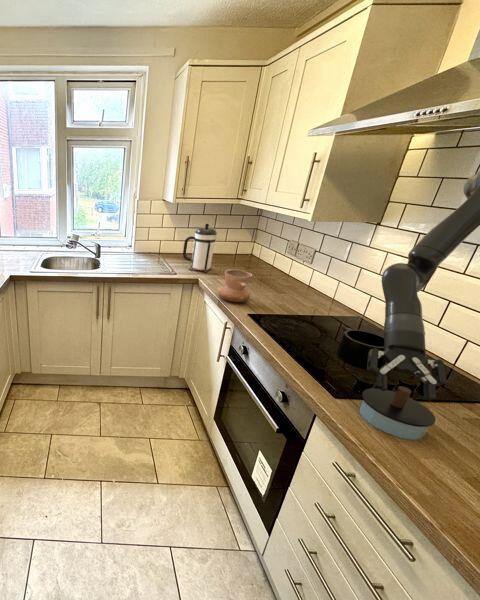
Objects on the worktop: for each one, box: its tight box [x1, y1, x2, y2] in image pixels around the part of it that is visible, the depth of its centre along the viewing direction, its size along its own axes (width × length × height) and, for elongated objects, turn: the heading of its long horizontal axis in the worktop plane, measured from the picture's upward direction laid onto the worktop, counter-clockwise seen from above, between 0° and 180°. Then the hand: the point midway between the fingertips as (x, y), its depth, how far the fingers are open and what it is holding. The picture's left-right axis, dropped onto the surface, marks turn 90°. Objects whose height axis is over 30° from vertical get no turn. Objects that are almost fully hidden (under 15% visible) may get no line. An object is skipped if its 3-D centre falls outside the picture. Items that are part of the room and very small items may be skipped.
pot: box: [336, 327, 387, 370], centre depth 107 cm, size 12×18×8 cm
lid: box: [361, 385, 437, 427], centre depth 79 cm, size 14×14×6 cm
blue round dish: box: [359, 399, 431, 441], centre depth 81 cm, size 12×12×4 cm
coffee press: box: [182, 223, 219, 274], centre depth 201 cm, size 17×16×30 cm
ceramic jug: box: [218, 268, 253, 304], centre depth 157 cm, size 18×14×14 cm
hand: (405, 394), depth 78 cm, fingers open, 8 cm apart
